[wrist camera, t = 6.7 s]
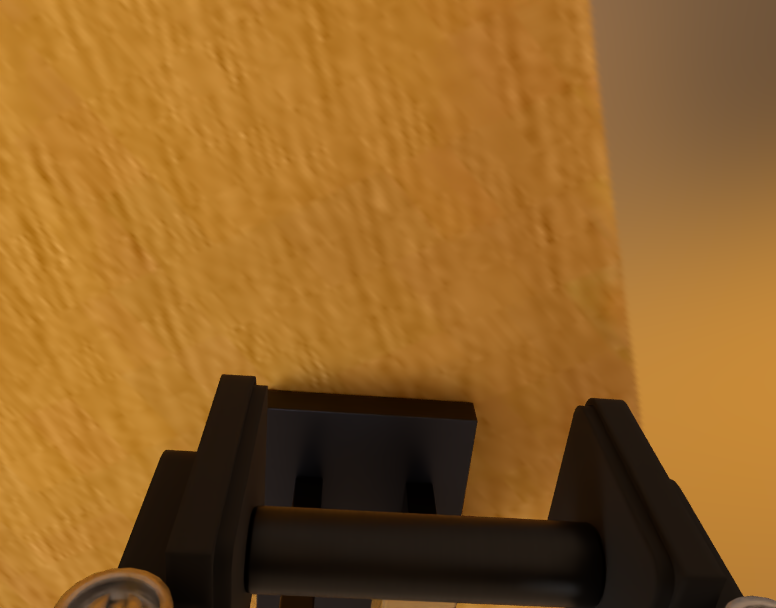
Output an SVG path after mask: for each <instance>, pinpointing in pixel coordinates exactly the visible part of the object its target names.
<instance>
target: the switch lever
mask: <svg viewBox="0 0 776 608" xmlns="http://www.w3.org/2000/svg"><path fill="white" fill-rule="evenodd" d="M604 580H605V561H604V553H603V548H602V543H601V540H600V537H599V534H598V532H597V530H596V528H595V527H594V526H593V525H591V524H589V523H587V522H573V521H554V520H534V519H515V518H495V517H476V516H456V515H437V514H417V513H398V512H378V511H358V510H339V509H319V508H300V507H280V506H261V505H259V506H256V507H254V509H253V511H252V514H251V518H250V524H249V530H248V537H247V546H246V556H245V572H244V585H245V590H246V592H247V593H249V594H259V595H283V596H306V597H330V598H353V599H372V604H371V608H456V605H457V603H471V604H494V605H518V606H541V607H564V608H593V607H595V606H596V605H597V604H598V603H599V601H600V599H601V597H602V593H603V588H604Z"/></svg>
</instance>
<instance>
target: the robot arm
mask: <svg viewBox="0 0 776 608" xmlns="http://www.w3.org/2000/svg"><path fill="white" fill-rule="evenodd" d="M267 405H268V386H262V385H256V377H255V376H241V375H226V374H223V375H222V376H221V378H220V381H219V384H218V388H217V391H216V394H215V397H214V400H213V403H212V406H211V409H210V413H209V416H208V419H207V422H206V425H205V428H204V431H203V435H202V438H201V441H200V444H199V447H198V450H197V452H193V451H175V450H165V451H164V452H163V454H162V456H161V458H160V460H159V463H158V465H157V468H156V470H155V473H154V476H153V478H152V481H151V483H150V486H149V489H148V491H147V494H146V496H145V499H144V502H143V504H142V507H141V509H140V512H139V514H138V517H137V520H136V522H135V525H134V527H133V530H132V533H131V535H130V538H129V540H128V543H127V545H126V548H125V551H124V553H123V556H122V558H121V561H120V564H119V566H118V568H115V569H109V570H105V571H102V572H98V573H94V574H92V575H90V576H88V577H86V578H85V579H83V580H81V581H79V582H77V583H76V584H75V585H73V586H72V587H71V588H70V589H69V590H67V591H66V592H65V593H64V594H63V595H62V596H61V598H60V599H59V601H58V602H57V604H56V605H55V607H54V608H250V603H251V597H252V594H249V593H247V592H246V590H245V585H244V572H245V556H246V546H247V537H248V530H249V524H250V518H251V514H252V511H253V509H254V507H256V506H259V505H261V506H264V503H265V470H266V438H267ZM548 520H554V521H573V522H587V523H589V524H591V525H593V526H594V527H595V528H596V530H597V532H598V534H599V537H600V540H601V543H602V548H603V553H604V561H605V580H604V588H603V593H602V597H601V599H600V601H599V603H598V604H597V605H596V606H595V607H593V608H776V601H775V600H772V599H769V598H763V597H756V596H747V597H744V596H743V595H742V593H741V592H740V590H739V588H738V586H737V584H736V583H735V581H734V579H733V578H732V576H731V574H730V573H729V571H728V569H727V568H726V566H725V564H724V562H723V560H722V559H721V557H720V555H719V554H718V552H717V550H716V548H715V547H714V545H713V543H712V542H711V540H710V538H709V536H708V535H707V533H706V531H705V530H704V528H703V526H702V524H701V523H700V521H699V519H698V518H697V516H696V514H695V513H694V511H693V509H692V507H691V506H690V504H689V502H688V501H687V499H686V497H685V495H684V494H683V492H682V490H681V489H680V487H679V486H678V485H677V483H676V482H675V481H673V480H671V479H669V477H668V475H667V473H666V472H665V470H664V468H663V466H662V465H661V463H660V461H659V460H658V458H657V456H656V454H655V453H654V451H653V449H652V447H651V446H650V444H649V442H648V440H647V439H646V437H645V435H644V433H643V432H642V430H641V428H640V426H639V425H638V423H637V421H636V419H635V418H634V416H633V414H632V413H631V411H630V409H629V407H628V406H627V404H626V403H625V402H624V401H623V400H614V399H599V398H590V399H588V401H587V402H586V404H585V406H577V407H576V409H575V412H574V415H573V419H572V423H571V427H570V431H569V435H568V439H567V443H566V447H565V451H564V455H563V459H562V464H561V468H560V472H559V476H558V480H557V484H556V488H555V492H554V496H553V500H552V504H551V508H550V512H549V516H548Z"/></svg>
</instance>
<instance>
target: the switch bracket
mask: <svg viewBox="0 0 776 608" xmlns="http://www.w3.org/2000/svg"><path fill="white" fill-rule="evenodd" d="M476 427H477V417H476V413H475V409H474V406H473V403H467V402H451V401H435V400H419V399H403V398H387V397H371V396H355V395H339V394H323V393H307V392H291V391H275V390H268V405H267V438H266V470H265V503H264V506H280V507H300V508H319V509H339V510H358V511H378V512H398V513H417V514H437V515H456V516H461V514H462V509H463V503H464V497H465V491H466V485H467V480H468V474H469V468H470V462H471V456H472V450H473V445H474V439H475V433H476ZM371 604H372V599H353V598H330V597H306V596H283V595H259V594H257V606H256V608H371Z"/></svg>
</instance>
